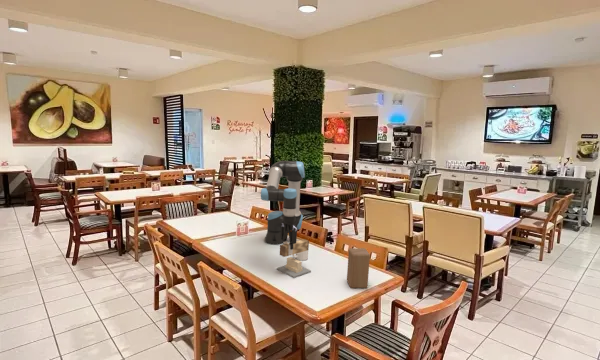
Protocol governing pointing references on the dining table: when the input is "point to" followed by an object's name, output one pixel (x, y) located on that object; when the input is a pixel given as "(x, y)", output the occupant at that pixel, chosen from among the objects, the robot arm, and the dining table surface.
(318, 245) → the dining table surface
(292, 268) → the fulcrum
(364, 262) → the wooden block
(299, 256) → the cup
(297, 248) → the oak bar
